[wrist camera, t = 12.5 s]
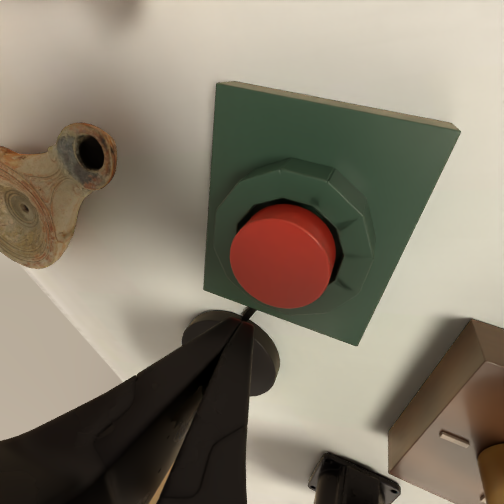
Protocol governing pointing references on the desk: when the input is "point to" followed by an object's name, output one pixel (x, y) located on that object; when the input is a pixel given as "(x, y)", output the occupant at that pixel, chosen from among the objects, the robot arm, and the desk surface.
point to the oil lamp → (51, 192)
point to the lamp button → (283, 256)
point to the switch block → (321, 191)
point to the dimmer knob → (492, 473)
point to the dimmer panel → (453, 418)
